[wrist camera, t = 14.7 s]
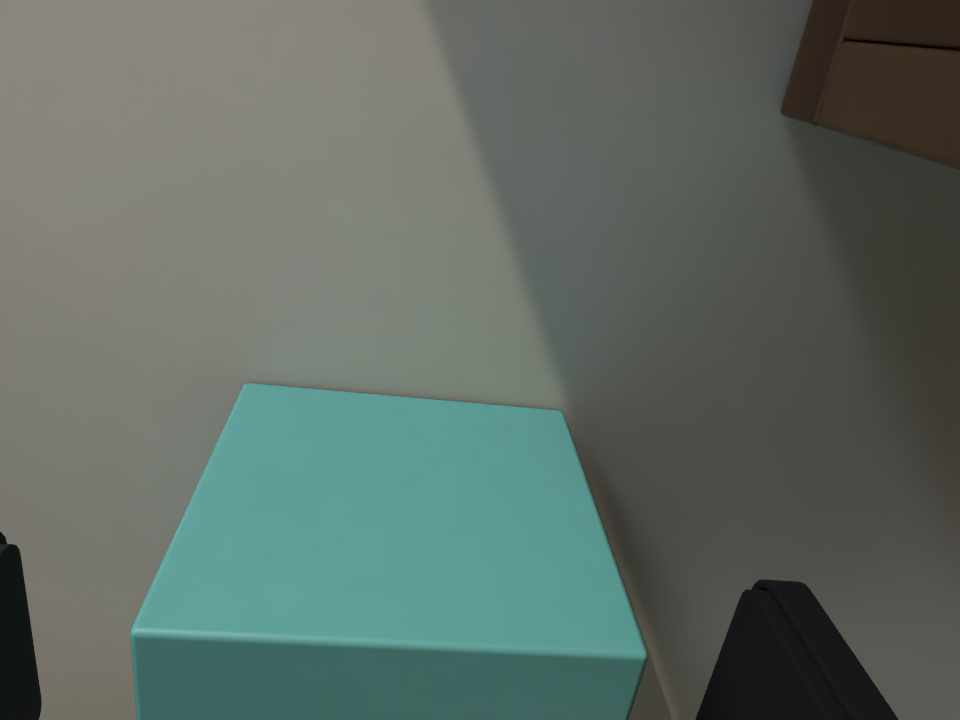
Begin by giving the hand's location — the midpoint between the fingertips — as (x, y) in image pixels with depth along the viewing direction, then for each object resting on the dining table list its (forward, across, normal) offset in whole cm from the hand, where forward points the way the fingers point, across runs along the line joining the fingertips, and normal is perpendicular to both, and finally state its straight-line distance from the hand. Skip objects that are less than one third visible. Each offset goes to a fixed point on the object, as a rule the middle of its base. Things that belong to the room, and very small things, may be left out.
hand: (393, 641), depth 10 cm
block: (+2, 0, 0) cm, 2 cm away
